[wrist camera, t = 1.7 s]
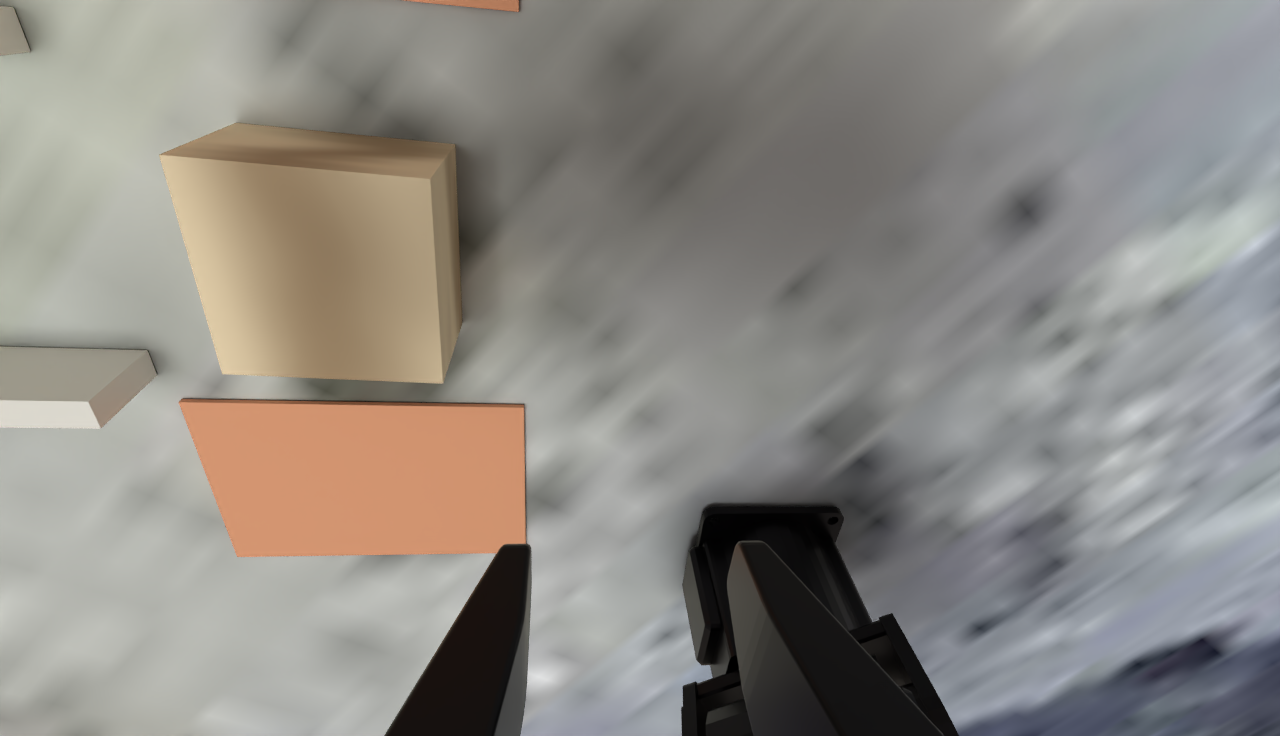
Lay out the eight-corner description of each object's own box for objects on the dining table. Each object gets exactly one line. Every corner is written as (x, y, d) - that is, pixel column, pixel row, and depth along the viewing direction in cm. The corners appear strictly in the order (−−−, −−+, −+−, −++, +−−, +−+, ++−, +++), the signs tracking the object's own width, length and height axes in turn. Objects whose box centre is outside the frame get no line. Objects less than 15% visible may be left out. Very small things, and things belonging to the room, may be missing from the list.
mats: (513, -450, 12) (512, -457, 12) (525, 548, 27) (525, 552, 27) (-188, -588, 11) (-200, -598, 10) (239, 553, 26) (237, 556, 26)
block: (456, 142, 18) (429, 179, 15) (463, 320, 21) (442, 383, 18) (238, 121, 17) (159, 155, 14) (279, 309, 20) (222, 374, 17)
